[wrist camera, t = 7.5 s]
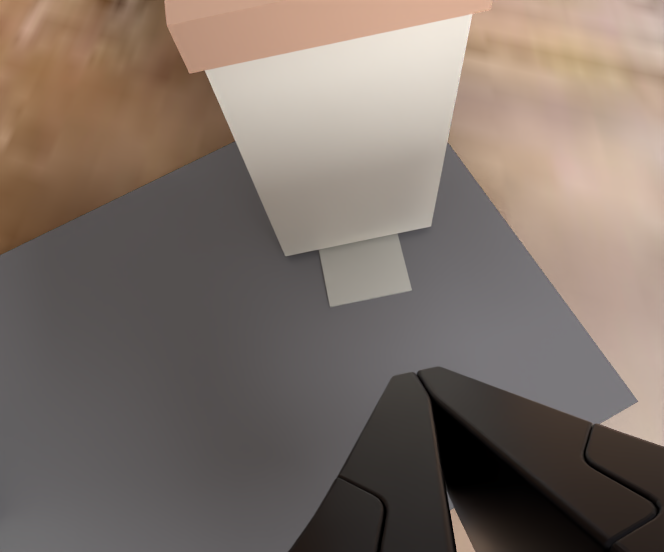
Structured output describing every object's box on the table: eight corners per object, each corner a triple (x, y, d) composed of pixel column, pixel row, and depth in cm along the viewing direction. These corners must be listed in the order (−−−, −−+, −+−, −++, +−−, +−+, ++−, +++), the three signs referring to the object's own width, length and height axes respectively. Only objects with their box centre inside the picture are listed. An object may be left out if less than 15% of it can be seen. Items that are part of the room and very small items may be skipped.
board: (390, 81, 24) (391, 63, 23) (624, 405, 18) (639, 401, 17) (-225, 381, 21) (-256, 376, 20) (-172, 865, 16) (-210, 891, 15)
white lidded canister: (439, 231, 20) (503, -46, 9) (279, 263, 20) (166, 25, 9) (402, 101, 22) (420, -242, 12) (258, 131, 22) (147, -182, 12)
